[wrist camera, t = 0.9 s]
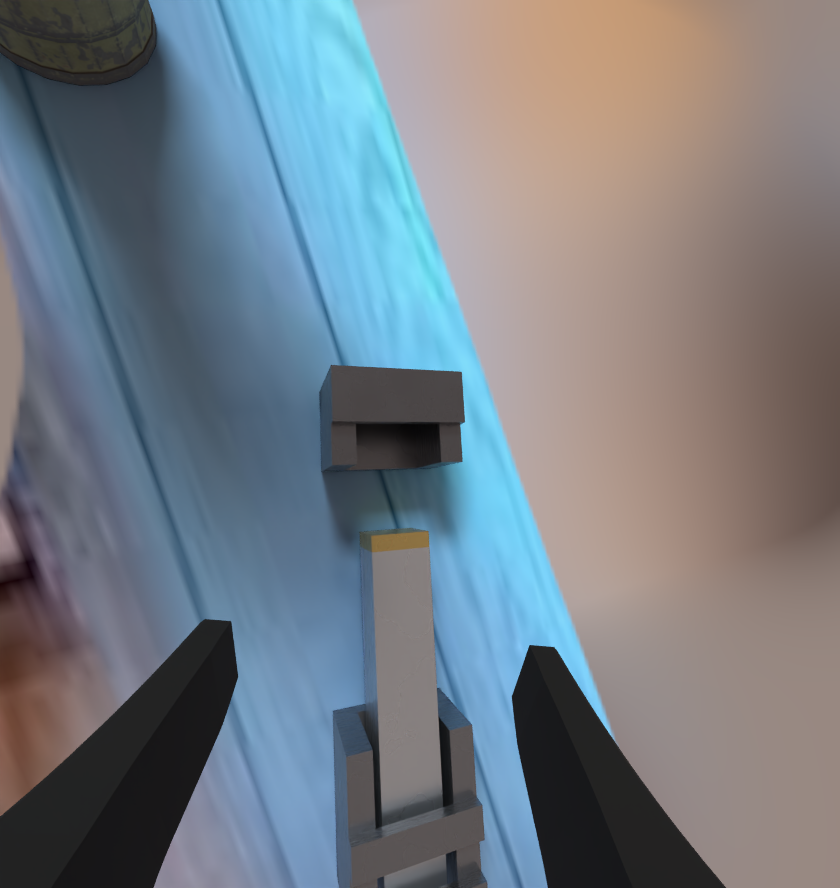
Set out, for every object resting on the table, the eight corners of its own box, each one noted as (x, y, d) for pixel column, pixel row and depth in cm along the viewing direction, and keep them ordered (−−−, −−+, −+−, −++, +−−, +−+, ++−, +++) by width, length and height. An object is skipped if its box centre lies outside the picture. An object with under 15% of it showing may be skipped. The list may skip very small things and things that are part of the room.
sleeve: (447, 837, 24) (489, 918, 19) (337, 875, 22) (354, 976, 17) (439, 688, 25) (477, 730, 20) (332, 711, 23) (348, 764, 18)
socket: (431, 468, 27) (467, 460, 22) (321, 471, 24) (333, 464, 19) (427, 395, 27) (461, 371, 22) (319, 391, 25) (330, 365, 20)
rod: (427, 881, 22) (449, 935, 20) (372, 902, 21) (387, 962, 19) (410, 527, 25) (428, 531, 22) (359, 531, 24) (371, 535, 21)
